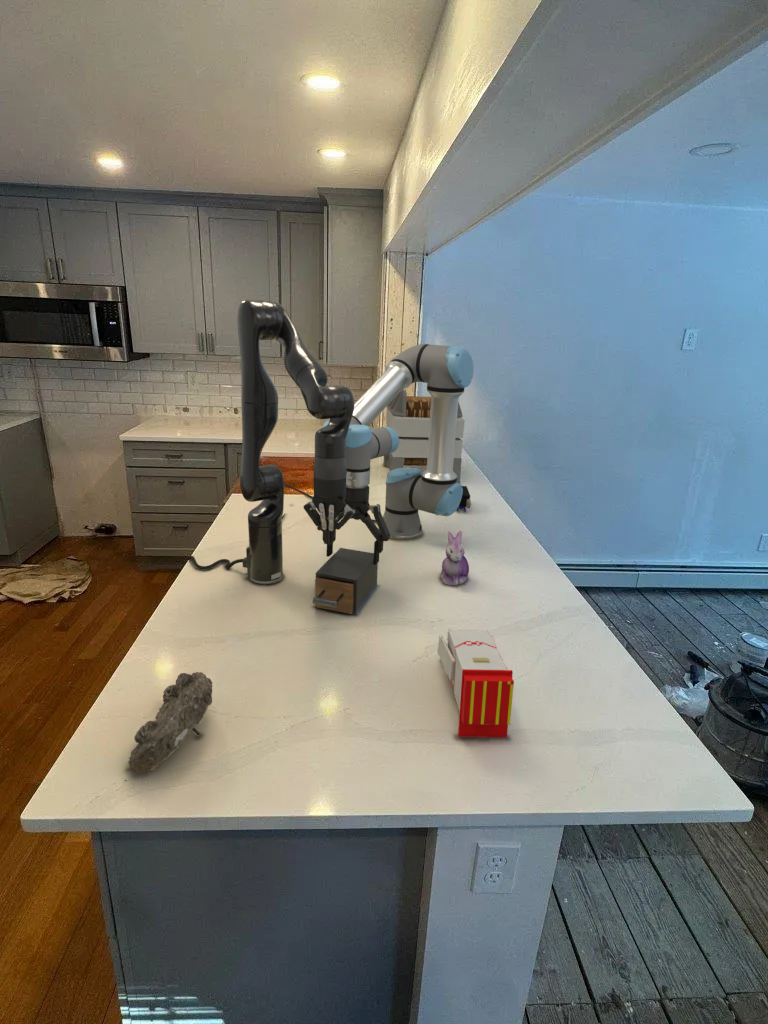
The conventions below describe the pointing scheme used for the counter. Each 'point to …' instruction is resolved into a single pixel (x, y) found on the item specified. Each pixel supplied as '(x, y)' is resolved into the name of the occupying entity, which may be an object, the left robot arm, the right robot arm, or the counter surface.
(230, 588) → the counter surface
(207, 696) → the fossil
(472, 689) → the toy
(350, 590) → the drawer
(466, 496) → the figurine character
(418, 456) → the slatted crate
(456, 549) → the figurine
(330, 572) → the cabinet
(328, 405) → the left robot arm
